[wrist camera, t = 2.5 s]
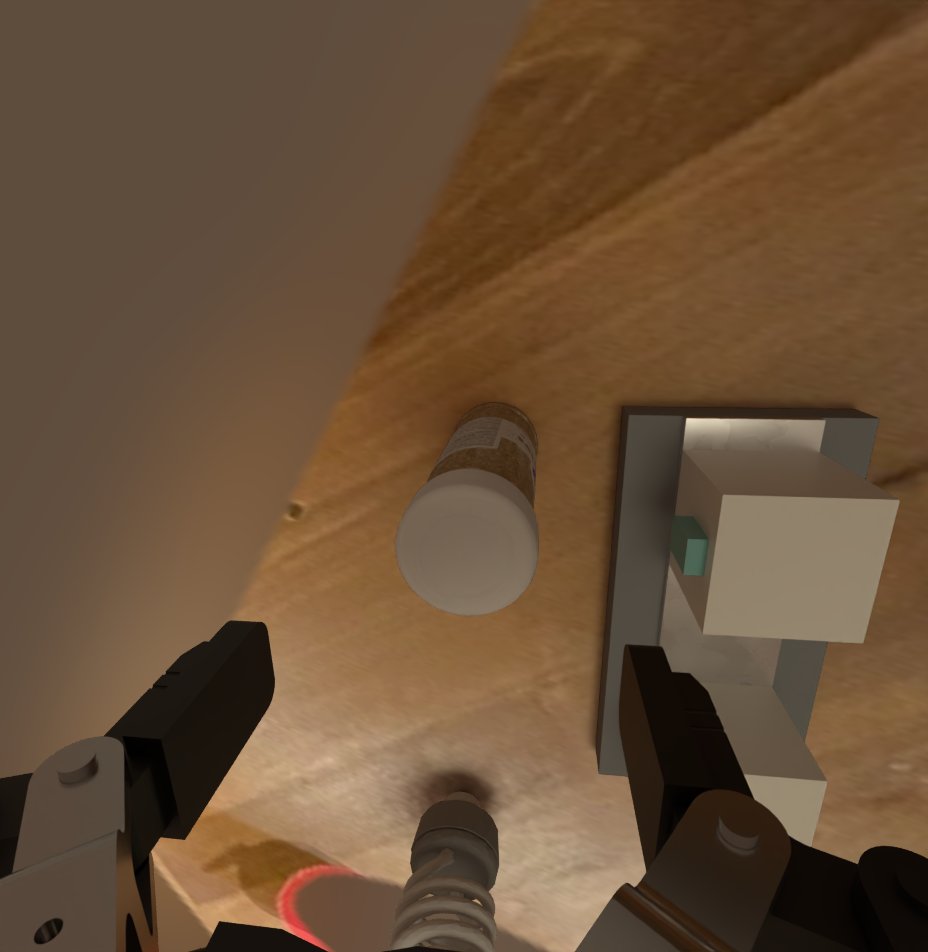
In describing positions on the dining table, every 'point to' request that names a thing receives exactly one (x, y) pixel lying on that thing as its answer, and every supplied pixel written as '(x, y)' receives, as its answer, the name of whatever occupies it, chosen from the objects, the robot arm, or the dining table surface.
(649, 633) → the mounting board
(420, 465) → the dining table surface
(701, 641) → the din rail
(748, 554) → the mounted modules
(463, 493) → the sprinkles bottle
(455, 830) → the light bulb
